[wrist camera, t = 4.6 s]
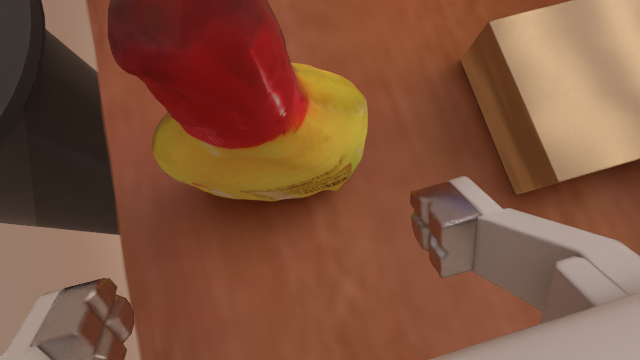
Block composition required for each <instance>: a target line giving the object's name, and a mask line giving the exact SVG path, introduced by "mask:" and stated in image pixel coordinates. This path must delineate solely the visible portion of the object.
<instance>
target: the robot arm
mask: <svg viewBox="0 0 640 360" xmlns="http://www.w3.org/2000/svg"><path fill="white" fill-rule="evenodd" d="M410 204H411V205H412V207H413V208H414V209H415V211H414V213H413V214H412V216H411V220H412V227H413V231H414V235H415V237H416V239H417V241H418V243H419V245H420V246H421V248H422V249H424V250H426V251H429V256H430V262H431V263H432V265H433V266H434V268H435V269H436V271H437V272H438V274H439V275H440V277H441V278H446V277H450V276H453V275H457V274H461V273H464V272H468V271H472V270H473V272H474V273H476V274H478V275H480V276H481V277H483V278H485V279H487V280H488V281H490V282H492V283H494V284H495V285H497V286H499V287H501V288H502V289H504V290H506V291H508V292H509V293H511V294H513V295H515V296H516V297H518V298H520V299H522V300H523V301H525V302H527V303H529V304H530V305H532V306H534V307H536V308H537V309H539V310H541V311H543V313H542V317H541V321H540V324H539V325H536V326H532V327H529V328H526V329H523V330H520V331H517V332H513V333H510V334H507V335H504V336H501V337H498V338H495V339H491V340H488V341H485V342H482V343H479V344H476V345H472V346H469V347H466V348H463V349H460V350H457V351H453V352H450V353H447V354H444V355H441V356H438V357H435V358H431V359H428V360H640V256H639V255H637V254H636V253H635V252H633V251H632V250H630V249H629V248H628V247H626V246H625V245H624V244H622V243H621V242H619V241H617V240H613V239H610V238H607V237H604V236H600V235H597V234H594V233H590V232H587V231H584V230H580V229H577V228H574V227H570V226H567V225H564V224H560V223H557V222H554V221H551V220H547V219H544V218H541V217H537V216H534V215H531V214H527V213H524V212H521V211H517V210H514V209H511V208H507V209H502V208H501V207H500V206H499V205H498V204H497V203H496V202H495V201H494V200H492V199H491V198H490V197H489V196H488V195H487V194H486V193H485V192H484V191H482V190H481V189H480V188H479V187H478V186H477V185H476V184H475V183H474V182H473V181H471V180H470V179H469V178H468V177H466V176H462V177H458V178H455V179H452V180H449V181H446V182H443V183H440V184H436V185H433V186H430V187H426V188H423V189H419V190H416V191H412V192H411V195H410ZM116 290H117V286H116V285H115V284H114V283H113V282H112V281H111V279H106V278H102V279H98V280H95V281H91V282H87V283H83V284H79V285H75V286H71V287H68V288H65V289H61V290H57V291H53V292H50V293H46V294H44V295H42V296H41V297H39V298H38V299H37V301H36V303H35V304H34V306H33V308H32V309H31V311H30V312H29V314H28V316H27V317H26V319H25V321H24V323H23V324H22V326H21V327H20V329H19V331H18V333H17V334H16V336H15V337H14V339H13V341H12V343H11V344H10V346H9V347H8V349H7V351H6V352H5V354H4V355H1V356H0V360H124V358H125V355H126V351H127V349H126V348H125V346H124V344H123V343H124V342H125V340H127V338H128V337H129V336H130V335H131V333H132V329H133V326H134V312H133V310H132V307H131V304H130V303H129V302H128V300H127V299H126V298H124V297H121V296H119V295H116Z"/></svg>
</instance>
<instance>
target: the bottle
mask: <svg viewBox="0 0 640 360" xmlns="http://www.w3.org/2000/svg"><path fill="white" fill-rule="evenodd" d="M108 39H109V43H110V47H111V51H112V54H113V56H114V58H115V61H116V63H117V64H118V65H119V66H120V67H121V68H122V69H123V70H124V71H126V72H127V73H129V74H132V75H135V76H137V77H138V78H140V79H141V80H142V81H143V82H144V83H145V84H146V85H147V87H148V89H149V90H150V92H151V93H152V94H153V95H154V97H155V98H156V99H157V100H158V101H159V102H160V103H161V104H162V105H163V106H164V107H165V108H166V109H167V111H168V113H167V114H166V115H165V116H164V117H163V118H162V120H161V121H160V123H159V124H158V126H157V128H156V130H155V133H154V136H153V143H152V151H153V155H154V157H155V159H156V161H157V163H158V165H159V166H160V168H161V169H162V170H163V171H165V172H166V173H167V174H169V175H170V176H171V177H173V178H174V179H176V180H178V181H181V182H184V183H187V184H189V185H192V186H194V187H197V188H199V189H201V190H203V191H205V192H209V193H211V194H213V195H215V196H221V197H225V198H231V199H247V200H262V201H278V200H282V199H291V198H303V197H308V196H311V195H313V194H316V193H318V192H320V191H323V190H332V191H337V190H339V189H340V187H341V186H342V185H343V184H344V182H345V181H347V180H348V179H349V178H350V177H351V176H352V174H353V171H354V169H355V168H356V166H357V165H358V164H359V162H360V161H361V158H362V155H363V150H364V143H365V139H366V135H367V127H368V110H367V102H366V99H365V97H364V96H363V95H362V94H361V92H360V91H359V90H358V89H357V88H356V87H355V86H354V85H353V84H352V83H351V82H350V81H348V80H347V79H345V78H343V77H342V76H339V75H337V74H334V73H331V72H328V71H325V70H320V69H316V68H314V67H312V66H309V65H305V64H298V63H291V62H290V59H289V56H288V53H287V50H286V44H285V40H284V36H283V34H282V31H281V29H280V26H279V24H278V22H277V20H276V18H275V15H274V13H273V11H272V9H271V7H270V5H269V3H268V1H267V0H110V4H109V8H108Z"/></svg>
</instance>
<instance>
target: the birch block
mask: <svg viewBox="0 0 640 360" xmlns="http://www.w3.org/2000/svg"><path fill="white" fill-rule="evenodd" d="M461 62H462V65H463V67H464V70H465V72H466V75H467V77H468V80H469V82H470V85H471V87H472V90H473V92H474V94H475V97H476V99H477V102H478V104H479V107H480V109H481V112H482V114H483V117H484V119H485V121H486V124H487V126H488V129H489V131H490V134H491V136H492V139H493V141H494V144H495V146H496V149H497V151H498V153H499V156H500V158H501V161H502V163H503V166H504V168H505V171H506V173H507V176H508V178H509V181H510V183H511V185H512V188H513V190H514V193H515V195H519V194H522V193H526V192H529V191H533V190H536V189H540V188H543V187H546V186H550V185H553V184H557V183H560V182H564V181H567V180H571V179H574V178H577V177H581V176H584V175H588V174H591V173H595V172H598V171H602V170H605V169H608V168H612V167H615V166H619V165H622V164H626V163H629V162H632V161H636V160H639V159H640V0H572V1H568V2H564V3H560V4H556V5H552V6H548V7H544V8H540V9H536V10H532V11H528V12H525V13H521V14H517V15H513V16H509V17H505V18H501V19H497V20H493V21H489V22H488V23H487V25H486V26H485V28H484V29H483V30H482V32H481V33H480V34H479V36H478V37H477V38H476V40H475V41H474V43H473V44H472V45H471V47H470V48H469V49H468V51H467V52H466V53H465V55H464V56H463V58H462V59H461Z"/></svg>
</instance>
